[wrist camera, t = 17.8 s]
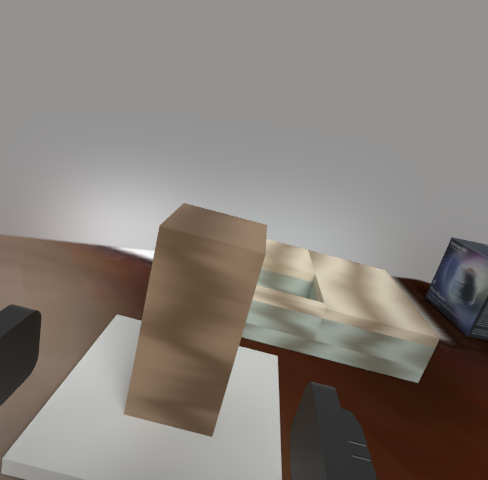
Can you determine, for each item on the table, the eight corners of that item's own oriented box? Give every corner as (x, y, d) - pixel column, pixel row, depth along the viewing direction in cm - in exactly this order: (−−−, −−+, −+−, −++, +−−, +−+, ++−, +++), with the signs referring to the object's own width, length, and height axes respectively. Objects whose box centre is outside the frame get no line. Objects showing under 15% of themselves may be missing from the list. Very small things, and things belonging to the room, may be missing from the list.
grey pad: (274, 365, 32) (277, 356, 31) (278, 543, 18) (283, 529, 18) (115, 324, 31) (117, 314, 31) (1, 473, 18) (2, 458, 18)
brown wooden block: (223, 377, 27) (266, 224, 23) (212, 437, 22) (265, 253, 18) (151, 358, 27) (184, 203, 23) (124, 414, 22) (159, 225, 18)
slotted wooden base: (372, 303, 50) (386, 270, 48) (418, 382, 35) (439, 338, 33) (215, 262, 49) (223, 227, 48) (190, 324, 34) (202, 276, 33)
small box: (420, 297, 57) (449, 234, 54) (457, 304, 58) (487, 244, 55) (464, 336, 47) (502, 263, 44) (507, 344, 48) (547, 273, 45)
